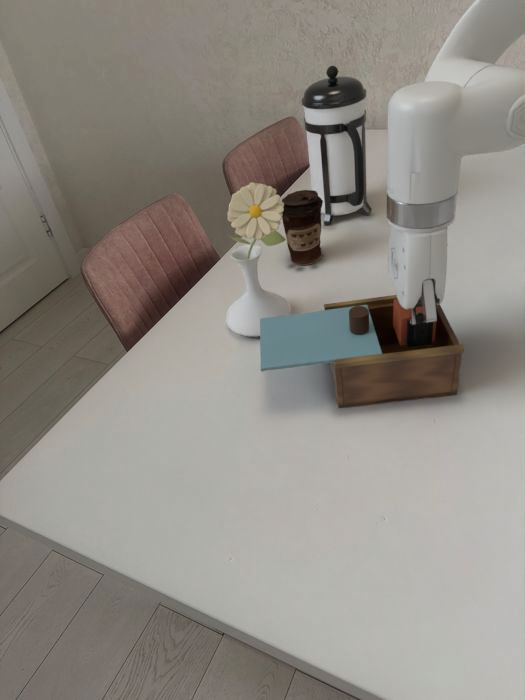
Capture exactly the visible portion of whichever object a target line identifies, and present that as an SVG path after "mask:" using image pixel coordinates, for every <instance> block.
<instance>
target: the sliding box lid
mask: <svg viewBox="0 0 525 700" xmlns="http://www.w3.org/2000/svg"><path fill="white" fill-rule="evenodd" d="M259 340H260V341H259V344H260V345H259V346H260V347H259V349H260V371H261V372H267V371H275V370H283V369H291V368H298V367H307V366H308V367H309V366H315V365H322V364H323V365H324V364H330V363H333V362H334V360H338V359H346V358H354V357H362V356H370V355H379V354H382V351H381V348H380V345H379V342H378V338H377V335H376V332H375V329H374V325H373V322H372V319H371V316H370V312H369V309H368V306H367V305H360V306H353V307H345V308H337V309H330V310H324V309H323V310H316V311H308V312H301V313H294V314H293V313H291V315H284V316H277V317H269V318H261V319H260V336H259Z"/></svg>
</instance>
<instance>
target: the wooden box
mask: <svg viewBox="0 0 525 700" xmlns="http://www.w3.org/2000/svg"><path fill="white" fill-rule="evenodd" d="M394 299H398V298H397V296H396V294H392V295H391V294H390V295H384V296H378V297H369V298H362V299H354V300H347V301H339V302H332V303H326V304H325V303H324V304H323V310H330V309H337V308H345V307H353V306H360V305H367V306H368V309H369V312H370V316H371V319H372V322H373V325H374V329H375V332H376V335H377V338H378V342H379V345H380V348H381V351H382V354H379V355H370V356H362V357H354V358H346V359H338V360H334V362H333V363H329V364H330V369H331V375H332V380H333V386H334V392H335V398H336V403H337V408H338V409H342V408H343V409H344V408H352V407H361V406H368V405H378V404H385V403H386V404H387V403H395V402H403V401H413V400H421V399H422V400H423V399H431V398H439V397H446V396H455V395H458V387H459V381H460V374H461V366H462V358H463V354H464V353H465V352H466V347H465V344H463V343H460V341H459V339H458V338H457V335H456V334H455V331H454V330H453V327H452V326H451V324H450V321H449V320H448V318H447V315H446V314H445V312H444V310H443V307H442V305H441V304H440V305H437V304H436V303H435V305H436V314H437V321H436V329H435V340H434V342H432V343H431V344H430V345H423V346H415V347H408V346H407V345H402V346H400V343H399V341H398V338H397V335H396V332H395V329H394V327H393V307H394Z"/></svg>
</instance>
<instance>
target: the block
mask: <svg viewBox="0 0 525 700" xmlns="http://www.w3.org/2000/svg"><path fill="white" fill-rule="evenodd" d="M419 299H422V297H420V298H419ZM418 313H423V307H416V315H417V314H418ZM407 321H410V308H409V309H404V308H403V307H402V306H401V305H400V303H399V301H398V299H394V307H393V327H394V329H395V332H396V335H397V338H398V341H399V343H400V346H402V345H407V344H406V336H407ZM435 329H436V322H434V323H433V334H432V342H434V340H435Z"/></svg>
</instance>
